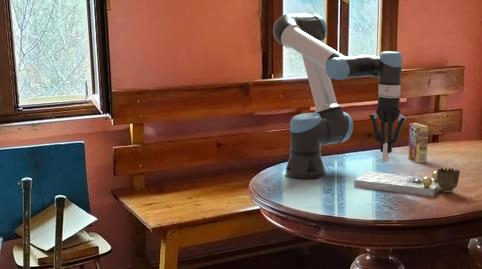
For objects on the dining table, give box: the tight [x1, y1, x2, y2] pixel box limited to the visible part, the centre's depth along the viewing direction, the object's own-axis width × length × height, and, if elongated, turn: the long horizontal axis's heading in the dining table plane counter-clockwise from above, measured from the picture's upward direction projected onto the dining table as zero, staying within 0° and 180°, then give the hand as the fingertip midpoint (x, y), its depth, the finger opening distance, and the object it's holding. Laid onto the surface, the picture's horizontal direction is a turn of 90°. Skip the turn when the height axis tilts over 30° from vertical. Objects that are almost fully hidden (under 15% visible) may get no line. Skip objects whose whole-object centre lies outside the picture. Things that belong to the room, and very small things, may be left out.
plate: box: [353, 171, 443, 198], centre depth 222 cm, size 28×14×2 cm, turn 59°
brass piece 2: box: [430, 170, 438, 181], centre depth 220 cm, size 3×3×3 cm
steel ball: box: [413, 179, 422, 184], centre depth 219 cm, size 3×3×3 cm
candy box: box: [407, 122, 429, 164], centre depth 260 cm, size 9×4×15 cm, turn 13°
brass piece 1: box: [422, 176, 432, 187], centre depth 212 cm, size 3×3×3 cm
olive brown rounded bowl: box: [436, 167, 461, 195], centre depth 213 cm, size 8×7×8 cm
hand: (385, 161), depth 224 cm, fingers closed
